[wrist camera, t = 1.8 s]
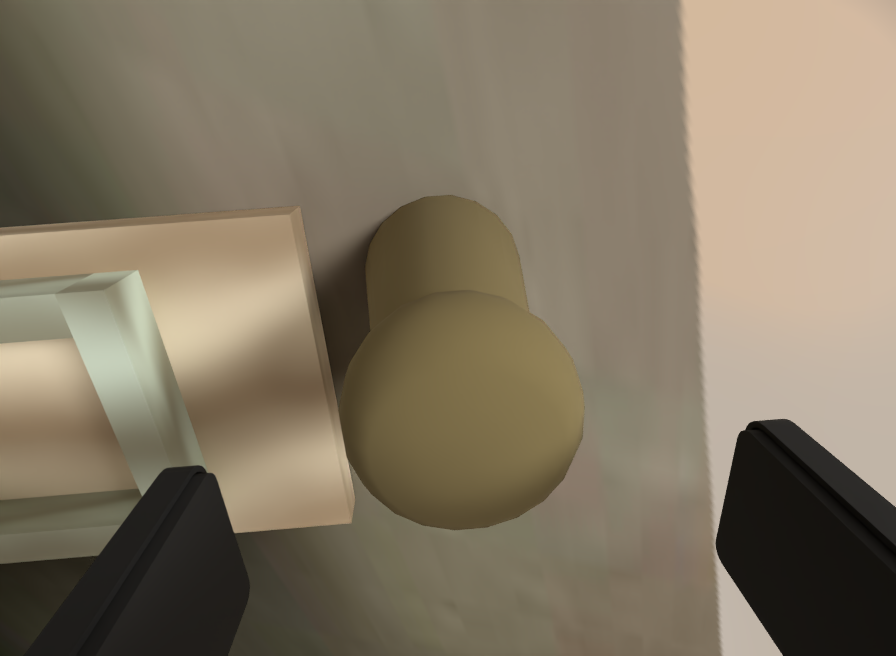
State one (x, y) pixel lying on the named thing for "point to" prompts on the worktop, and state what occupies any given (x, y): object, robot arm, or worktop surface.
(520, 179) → the worktop surface
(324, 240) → the worktop surface
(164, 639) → the robot arm
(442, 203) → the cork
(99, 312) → the socket board
